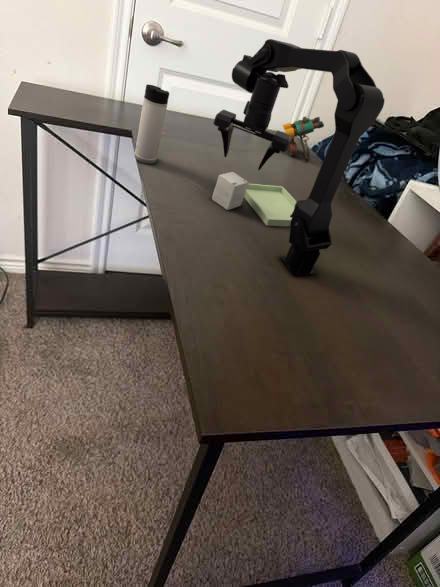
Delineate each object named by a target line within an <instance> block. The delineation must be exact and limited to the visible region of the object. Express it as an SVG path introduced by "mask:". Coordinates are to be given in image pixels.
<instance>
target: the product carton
mask: <svg viewBox="0 0 440 587" xmlns="http://www.w3.org/2000/svg"><path fill="white" fill-rule="evenodd" d="M248 184H250V182H249V181H248V180H246V179H245V178H243V177H241V176H240V175H239V174H237V173H235V172H234V171H231V172H226V173H222V174H218V177H217V180H216V183H215V187H214V190H213V193H212V195H211V196H212V197H211V200H212V201H213V202H214V203H216V204H218V205H219V206H221V207H222V208H224V209H225V210H226V211H229V210H232V209H235V208H238V207H241V206H242V203H243V200H244V199H245V198H244V195H245V192H246V189H247V187H248Z"/></svg>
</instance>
